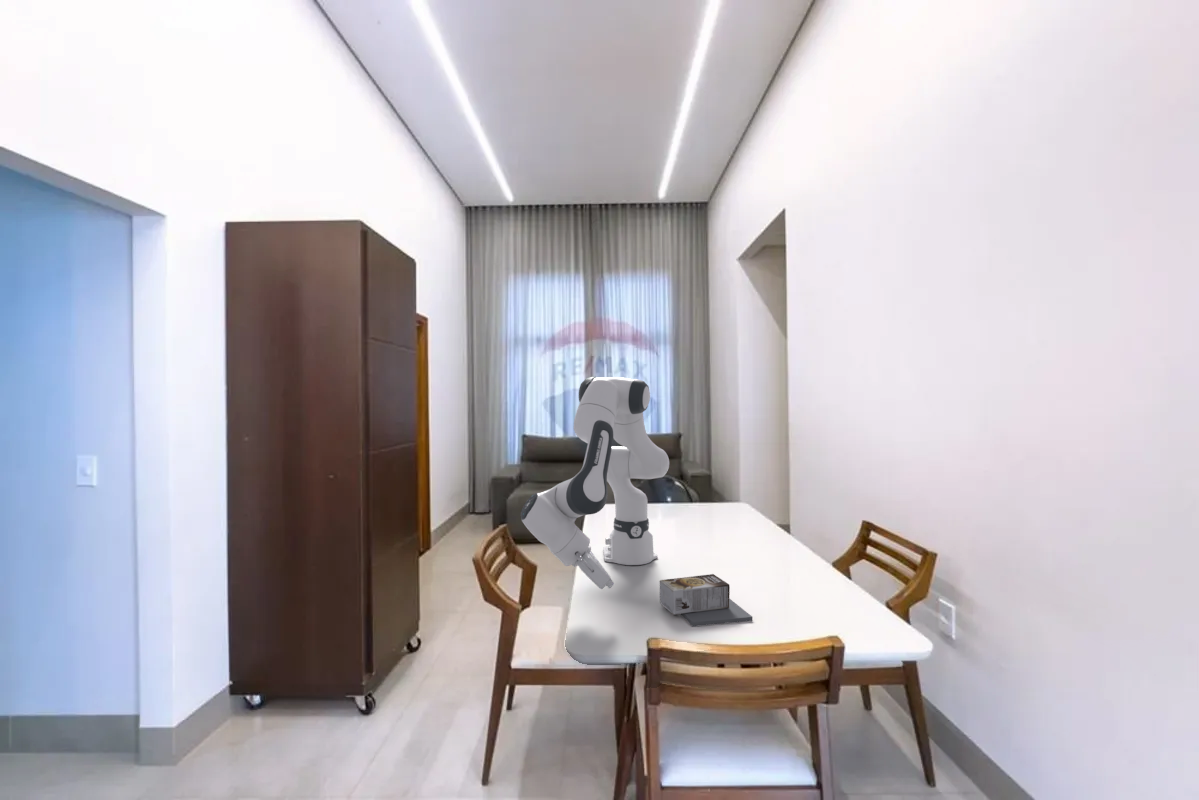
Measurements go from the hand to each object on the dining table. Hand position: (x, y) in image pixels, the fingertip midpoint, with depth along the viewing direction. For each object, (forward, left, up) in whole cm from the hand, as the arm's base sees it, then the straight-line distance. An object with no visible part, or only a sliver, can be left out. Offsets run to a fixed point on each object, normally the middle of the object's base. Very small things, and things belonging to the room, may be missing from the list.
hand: (610, 584), depth 137 cm
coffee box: (0, +15, -4) cm, 15 cm away
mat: (0, +26, -9) cm, 28 cm away
